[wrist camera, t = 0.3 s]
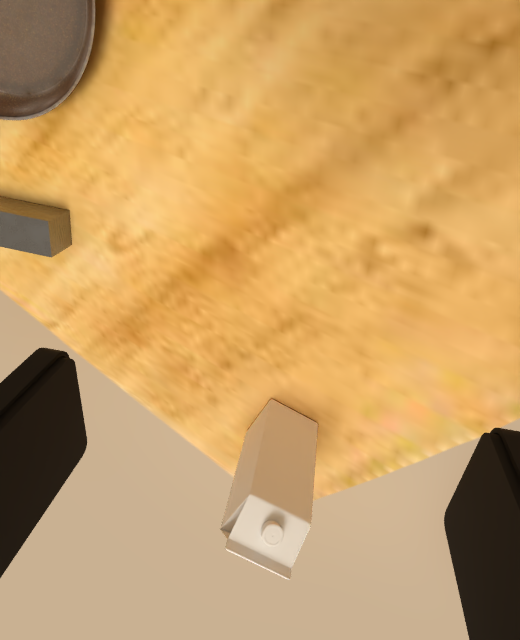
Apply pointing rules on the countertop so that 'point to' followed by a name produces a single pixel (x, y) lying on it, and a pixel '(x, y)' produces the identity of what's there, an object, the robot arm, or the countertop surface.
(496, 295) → the countertop surface
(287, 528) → the milk carton
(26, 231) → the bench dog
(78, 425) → the robot arm
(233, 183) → the countertop surface
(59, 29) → the plant saucer
